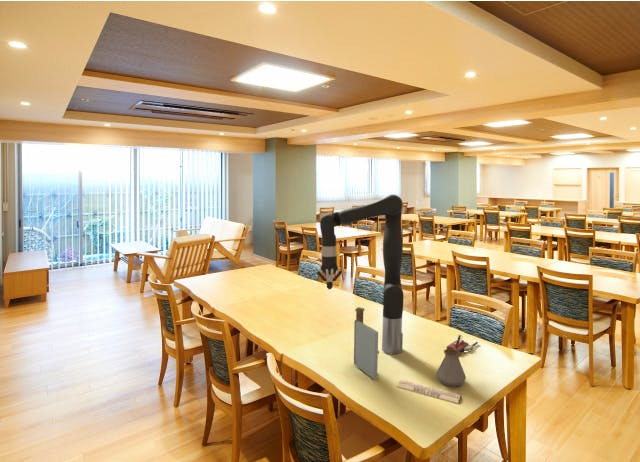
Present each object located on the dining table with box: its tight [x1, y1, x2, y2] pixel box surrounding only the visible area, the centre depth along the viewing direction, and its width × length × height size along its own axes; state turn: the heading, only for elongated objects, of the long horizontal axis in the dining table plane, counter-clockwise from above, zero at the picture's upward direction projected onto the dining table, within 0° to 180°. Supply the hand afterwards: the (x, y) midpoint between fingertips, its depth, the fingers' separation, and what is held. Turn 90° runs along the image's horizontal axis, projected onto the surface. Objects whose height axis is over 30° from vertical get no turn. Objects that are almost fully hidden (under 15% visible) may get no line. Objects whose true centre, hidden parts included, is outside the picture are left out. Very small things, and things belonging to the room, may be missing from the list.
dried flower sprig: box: [446, 339, 479, 354], centre depth 192 cm, size 9×4×20 cm
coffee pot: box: [436, 334, 467, 387], centre depth 164 cm, size 21×12×15 cm, turn 149°
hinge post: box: [355, 307, 365, 323], centre depth 176 cm, size 3×3×25 cm
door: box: [353, 319, 380, 380], centre depth 168 cm, size 16×3×20 cm, turn 28°
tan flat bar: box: [396, 379, 462, 405], centre depth 152 cm, size 24×7×2 cm, turn 60°
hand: (329, 288), depth 194 cm, fingers closed
